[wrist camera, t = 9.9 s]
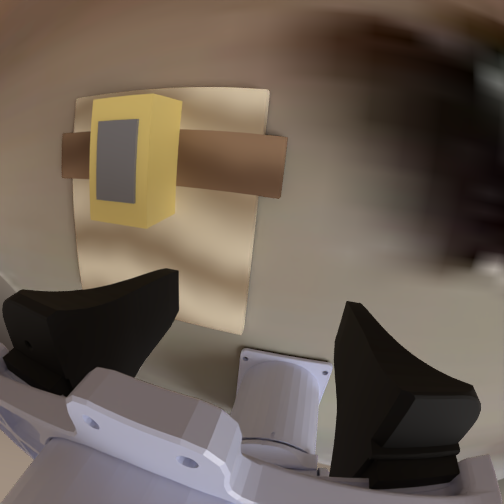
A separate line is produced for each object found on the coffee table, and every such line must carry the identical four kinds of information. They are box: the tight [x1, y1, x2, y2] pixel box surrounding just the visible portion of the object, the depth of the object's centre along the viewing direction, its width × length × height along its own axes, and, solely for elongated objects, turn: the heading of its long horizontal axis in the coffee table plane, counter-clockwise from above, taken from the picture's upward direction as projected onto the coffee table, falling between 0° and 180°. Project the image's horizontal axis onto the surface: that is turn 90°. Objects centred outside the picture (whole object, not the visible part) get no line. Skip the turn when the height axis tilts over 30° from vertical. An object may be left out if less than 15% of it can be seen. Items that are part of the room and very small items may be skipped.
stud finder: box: [89, 94, 182, 229], centre depth 18 cm, size 8×5×4 cm, turn 174°
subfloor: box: [62, 87, 288, 335], centre depth 22 cm, size 18×19×1 cm
